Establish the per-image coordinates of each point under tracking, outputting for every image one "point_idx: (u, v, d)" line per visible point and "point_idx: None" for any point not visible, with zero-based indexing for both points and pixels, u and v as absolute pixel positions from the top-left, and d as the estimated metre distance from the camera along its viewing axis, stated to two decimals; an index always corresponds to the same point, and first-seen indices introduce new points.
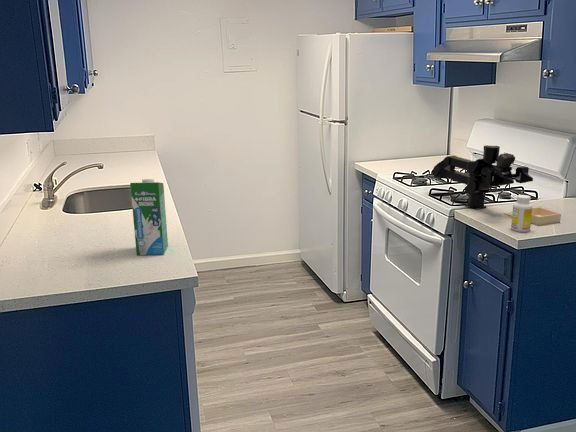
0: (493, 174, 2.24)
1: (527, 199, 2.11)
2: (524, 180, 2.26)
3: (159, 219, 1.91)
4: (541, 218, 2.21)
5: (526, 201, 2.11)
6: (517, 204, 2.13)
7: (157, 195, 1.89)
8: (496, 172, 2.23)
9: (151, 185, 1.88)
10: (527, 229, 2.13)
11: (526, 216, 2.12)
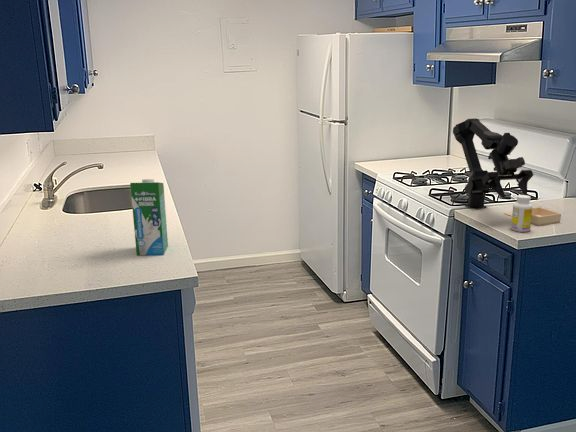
0: (491, 178, 2.19)
1: (527, 199, 2.11)
2: (521, 187, 2.22)
3: (159, 219, 1.91)
4: (541, 218, 2.21)
5: (526, 201, 2.11)
6: (517, 204, 2.13)
7: (157, 195, 1.89)
8: (494, 179, 2.18)
9: (151, 185, 1.88)
10: (527, 229, 2.13)
11: (526, 216, 2.12)
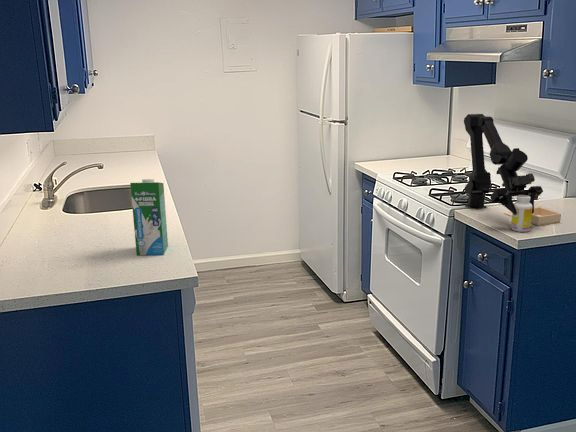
0: (503, 195, 2.14)
1: (527, 199, 2.11)
2: None
3: (159, 219, 1.91)
4: (541, 218, 2.21)
5: (526, 201, 2.11)
6: (517, 204, 2.13)
7: (157, 195, 1.89)
8: (506, 195, 2.13)
9: (151, 185, 1.88)
10: (527, 229, 2.13)
11: (526, 216, 2.12)
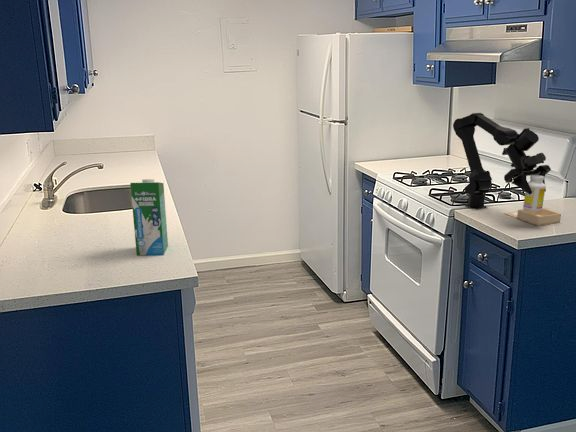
0: (518, 175, 2.15)
1: (542, 178, 2.14)
2: None
3: (159, 219, 1.91)
4: (541, 218, 2.21)
5: (541, 180, 2.14)
6: (532, 183, 2.15)
7: (157, 195, 1.89)
8: (521, 175, 2.15)
9: (151, 185, 1.88)
10: (540, 208, 2.17)
11: (541, 195, 2.15)
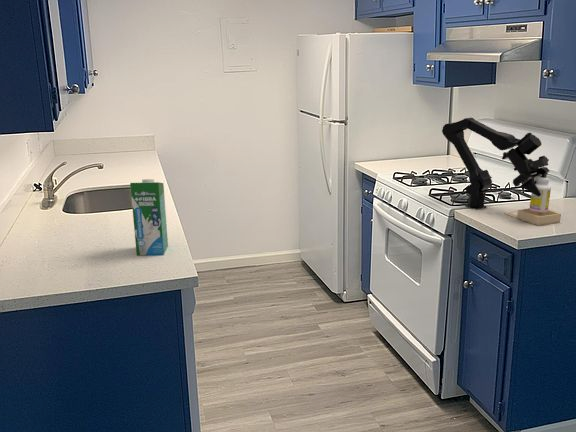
0: (527, 179, 2.21)
1: (548, 180, 2.22)
2: None
3: (159, 219, 1.91)
4: (541, 218, 2.21)
5: (547, 182, 2.22)
6: (540, 186, 2.22)
7: (157, 195, 1.89)
8: (531, 179, 2.20)
9: (151, 185, 1.88)
10: (547, 209, 2.25)
11: (548, 197, 2.23)
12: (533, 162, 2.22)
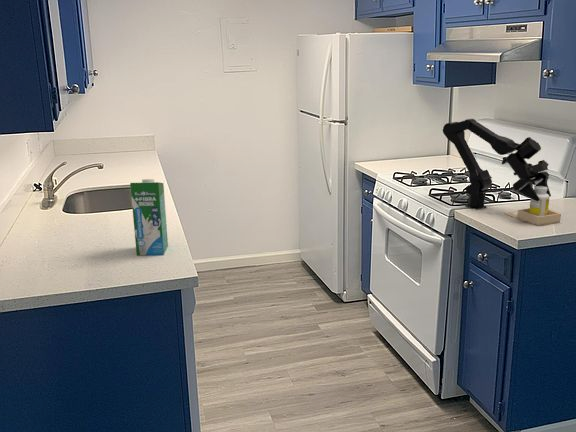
0: (525, 184, 2.20)
1: (546, 189, 2.23)
2: None
3: (159, 219, 1.91)
4: (541, 218, 2.21)
5: (546, 191, 2.23)
6: (538, 195, 2.23)
7: (157, 195, 1.89)
8: (529, 184, 2.20)
9: (151, 185, 1.88)
10: None
11: (547, 205, 2.23)
12: (533, 166, 2.23)
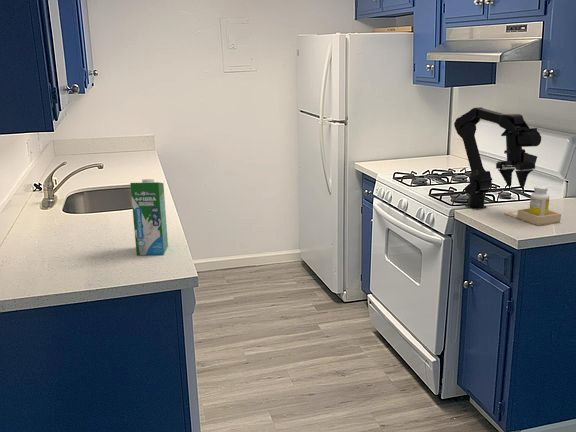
0: (530, 168, 2.19)
1: (546, 189, 2.23)
2: (506, 176, 2.32)
3: (159, 219, 1.91)
4: (541, 218, 2.21)
5: (546, 191, 2.23)
6: (538, 195, 2.23)
7: (157, 195, 1.89)
8: None
9: (151, 185, 1.88)
10: None
11: (547, 205, 2.23)
12: (530, 155, 2.24)
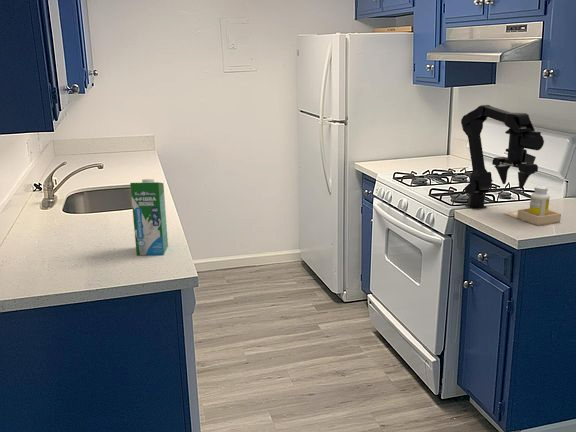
0: None
1: (547, 189, 2.23)
2: (502, 173, 2.30)
3: (159, 219, 1.91)
4: (541, 218, 2.21)
5: (546, 191, 2.23)
6: (538, 195, 2.23)
7: (157, 195, 1.89)
8: None
9: (151, 185, 1.88)
10: None
11: (547, 205, 2.23)
12: (530, 156, 2.24)
